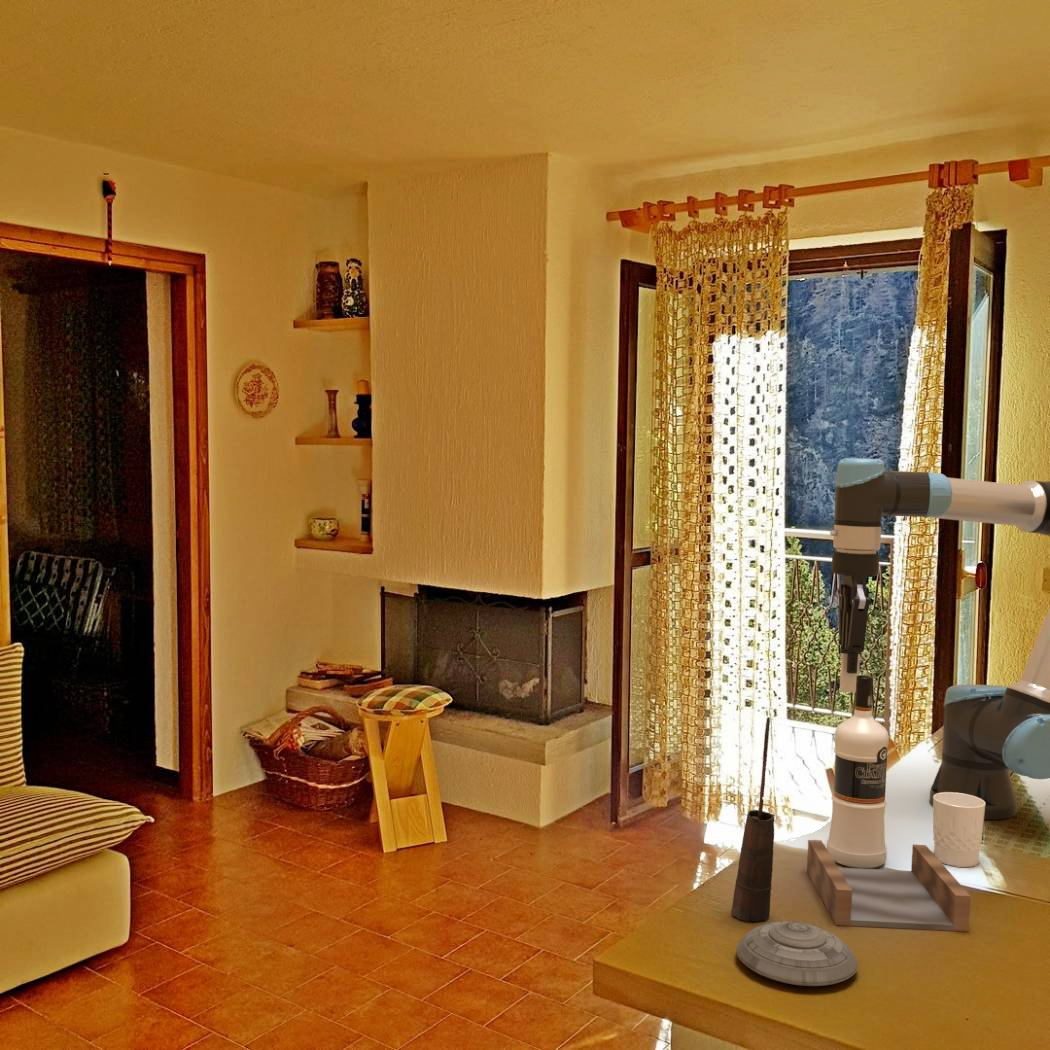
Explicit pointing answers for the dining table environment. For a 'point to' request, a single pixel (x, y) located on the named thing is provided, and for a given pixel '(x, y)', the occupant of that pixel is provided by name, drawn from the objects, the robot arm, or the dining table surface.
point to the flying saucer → (797, 954)
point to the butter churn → (756, 859)
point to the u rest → (890, 893)
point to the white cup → (957, 828)
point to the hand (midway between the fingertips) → (848, 691)
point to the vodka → (859, 786)
